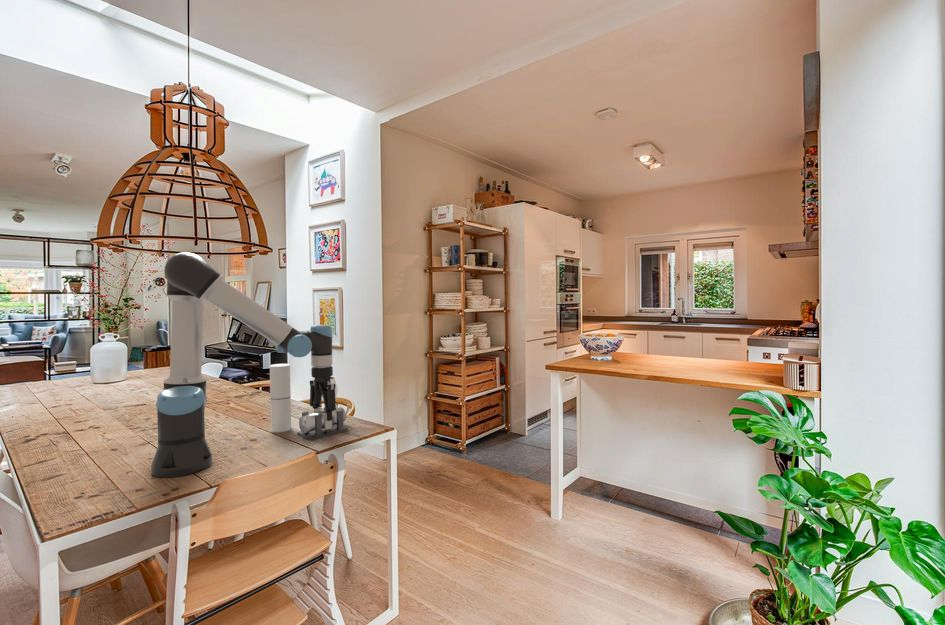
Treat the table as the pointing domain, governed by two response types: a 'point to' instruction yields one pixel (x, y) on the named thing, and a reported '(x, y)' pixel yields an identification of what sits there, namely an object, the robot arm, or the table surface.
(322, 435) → the rail
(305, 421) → the tube
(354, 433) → the table surface
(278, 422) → the cylindrical container
